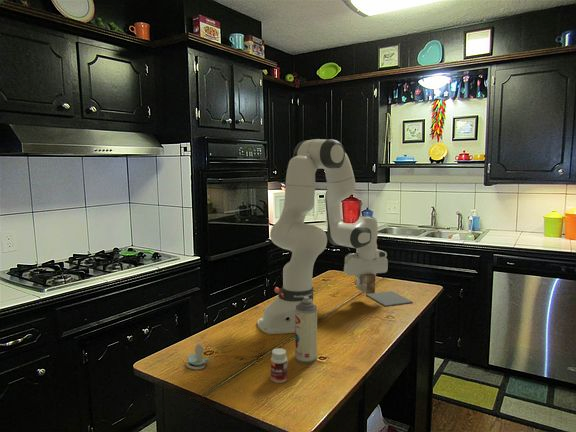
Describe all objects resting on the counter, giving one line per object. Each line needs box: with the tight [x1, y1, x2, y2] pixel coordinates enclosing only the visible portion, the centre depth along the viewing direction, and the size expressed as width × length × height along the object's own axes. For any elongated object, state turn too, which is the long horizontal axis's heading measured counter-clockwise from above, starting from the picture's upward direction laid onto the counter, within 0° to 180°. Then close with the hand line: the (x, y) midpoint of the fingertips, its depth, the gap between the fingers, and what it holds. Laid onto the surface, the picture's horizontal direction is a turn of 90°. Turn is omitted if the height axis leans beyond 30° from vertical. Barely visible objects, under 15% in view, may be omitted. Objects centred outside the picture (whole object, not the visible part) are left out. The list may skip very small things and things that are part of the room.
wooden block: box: [355, 274, 376, 294], centre depth 182 cm, size 4×9×8 cm, turn 20°
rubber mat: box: [365, 290, 414, 308], centre depth 187 cm, size 14×16×1 cm
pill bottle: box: [270, 347, 288, 384], centre depth 118 cm, size 5×5×8 cm
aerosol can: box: [294, 296, 318, 365], centre depth 129 cm, size 7×7×20 cm
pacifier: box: [185, 343, 211, 371], centre depth 126 cm, size 7×6×6 cm
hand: (365, 283), depth 182 cm, fingers closed on wooden block, 4 cm apart
